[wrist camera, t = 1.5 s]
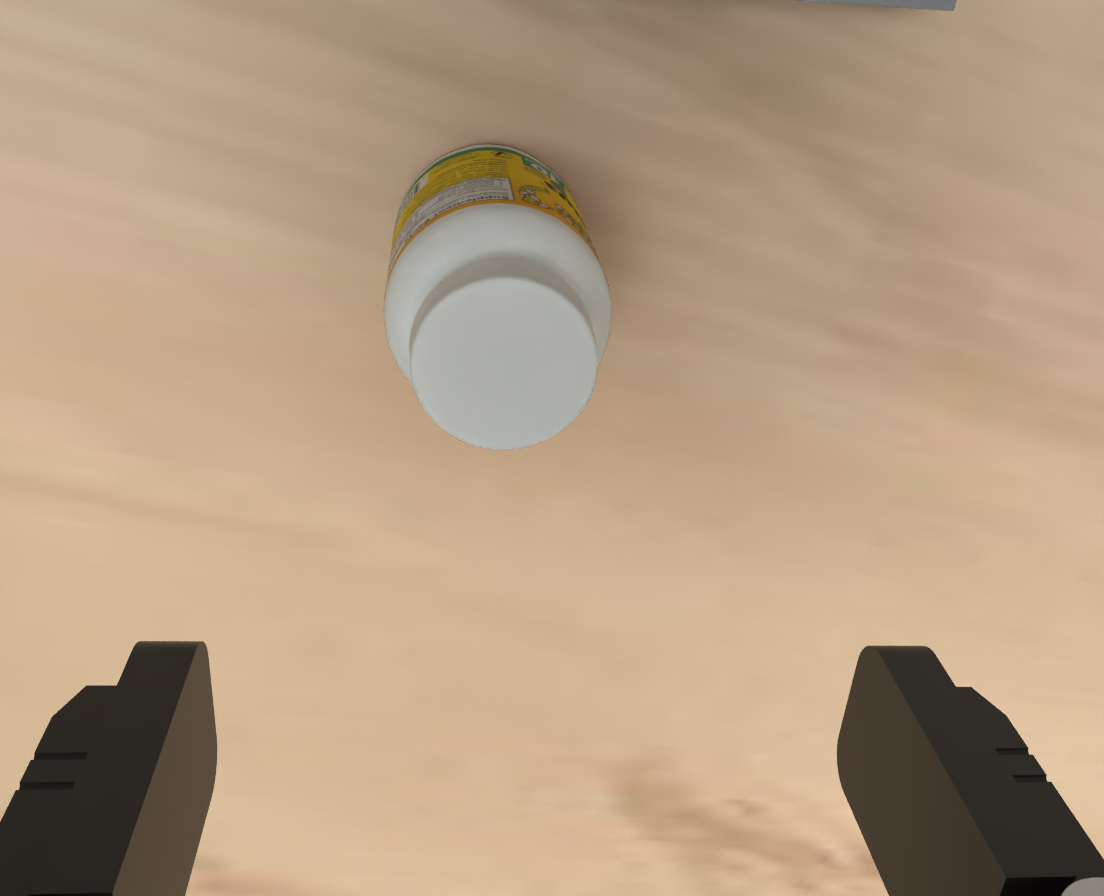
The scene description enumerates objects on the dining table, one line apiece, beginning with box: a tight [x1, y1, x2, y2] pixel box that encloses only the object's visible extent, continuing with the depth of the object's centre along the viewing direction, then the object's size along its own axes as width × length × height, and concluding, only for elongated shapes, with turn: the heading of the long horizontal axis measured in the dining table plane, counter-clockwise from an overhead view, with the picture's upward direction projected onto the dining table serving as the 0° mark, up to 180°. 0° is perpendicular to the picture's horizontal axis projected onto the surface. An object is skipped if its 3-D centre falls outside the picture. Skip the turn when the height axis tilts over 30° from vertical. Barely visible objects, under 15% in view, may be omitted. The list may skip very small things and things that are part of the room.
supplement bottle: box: [384, 144, 611, 450], centre depth 26 cm, size 5×5×10 cm
